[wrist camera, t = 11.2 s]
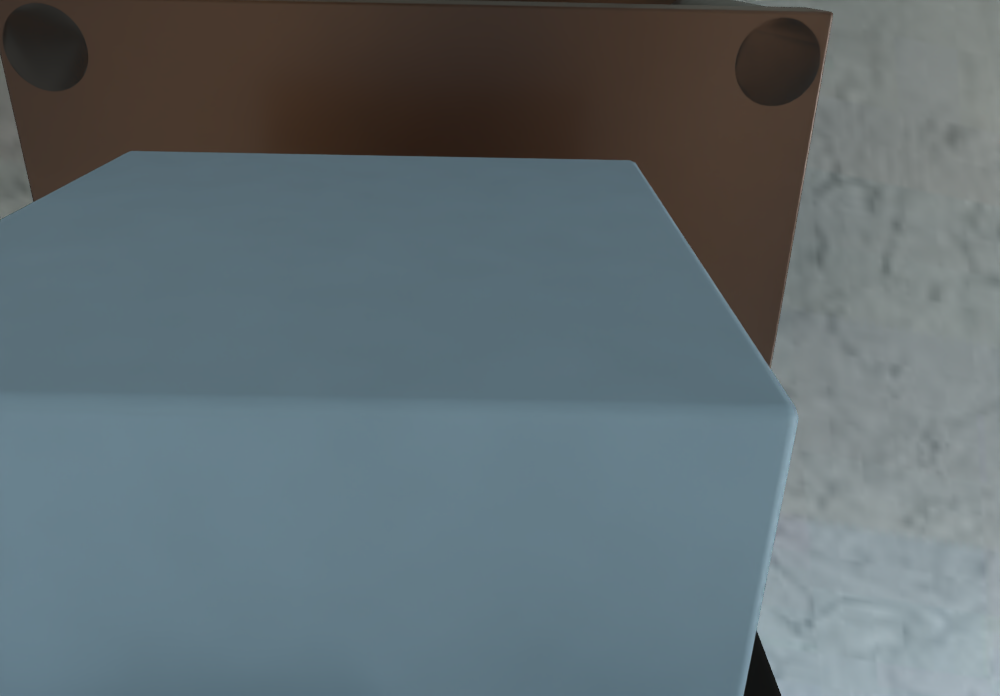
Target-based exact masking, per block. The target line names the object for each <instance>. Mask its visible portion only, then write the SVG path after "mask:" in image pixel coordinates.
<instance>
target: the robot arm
mask: <svg viewBox="0 0 1000 696" xmlns="http://www.w3.org/2000/svg"><path fill="white" fill-rule="evenodd" d="M743 696H781V694H780V691H779V688H778V686H777V683H776V680H775V678H774V675H773V673H772V670H771V667H770V665H769V662H768V659H767V657H766V654H765V651H764V649H763V646H762V644H761V641H760V638H759V636H758V633H757V630H756V635H755V640H754V645H753V650H752V655H751V660H750V665H749V670H748V675H747V680H746V685H745V690H744V695H743Z"/></svg>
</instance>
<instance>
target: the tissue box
mask: <svg viewBox="0 0 1000 696" xmlns="http://www.w3.org/2000/svg"><path fill="white" fill-rule="evenodd" d="M798 419H799V418H798V414H797V411H796V407H795V405H794V404H793V402H792V401H791V399H790V398H789V396H788V395H787V393H786V392H785V390H784V389H783V387H782V386H781V384H780V383H779V381H778V380H777V378H776V376H775V375H774V373H773V372H772V370H771V369H770V367H769V366H768V364H767V363H766V361H765V360H764V358H763V357H762V355H761V354H760V352H759V351H758V349H757V348H756V346H755V344H754V343H753V341H752V340H751V338H750V337H749V335H748V334H747V332H746V331H745V329H744V328H743V326H742V325H741V323H740V322H739V320H738V319H737V317H736V315H735V314H734V312H733V311H732V309H731V308H730V306H729V305H728V303H727V302H726V300H725V299H724V297H723V296H722V294H721V293H720V291H719V290H718V288H717V287H716V285H715V283H714V282H713V280H712V279H711V277H710V276H709V274H708V273H707V271H706V270H705V268H704V267H703V265H702V264H701V262H700V261H699V259H698V258H697V256H696V254H695V253H694V251H693V250H692V248H691V247H690V245H689V244H688V242H687V241H686V239H685V238H684V236H683V235H682V233H681V232H680V230H679V229H678V227H677V226H676V224H675V222H674V221H673V219H672V218H671V216H670V215H669V213H668V212H667V210H666V209H665V207H664V206H663V204H662V203H661V201H660V200H659V198H658V197H657V195H656V193H655V192H654V190H653V189H652V187H651V186H650V184H649V183H648V181H647V180H646V178H645V177H644V175H643V174H642V172H641V171H640V169H639V168H638V166H637V165H636V163H635V162H632V161H630V160H588V159H535V158H481V157H427V156H374V155H320V154H266V153H213V152H159V151H130V152H127V153H125V154H123V155H121V156H120V157H118V158H116V159H114V160H112V161H110V162H108V163H106V164H104V165H103V166H101V167H99V168H97V169H95V170H93V171H91V172H89V173H87V174H86V175H84V176H82V177H80V178H78V179H76V180H74V181H72V182H70V183H69V184H67V185H65V186H63V187H61V188H59V189H57V190H55V191H53V192H52V193H50V194H48V195H46V196H44V197H42V198H40V199H38V200H36V201H35V202H33V203H31V204H29V205H27V206H25V207H23V208H21V209H19V210H18V211H16V212H14V213H12V214H10V215H8V216H6V217H4V218H2V219H1V220H0V696H743V695H744V690H745V685H746V680H747V675H748V670H749V665H750V660H751V655H752V650H753V645H754V640H755V635H756V630H757V625H758V620H759V615H760V610H761V605H762V600H763V595H764V590H765V585H766V580H767V575H768V570H769V565H770V560H771V555H772V550H773V545H774V540H775V535H776V530H777V525H778V520H779V515H780V510H781V505H782V500H783V495H784V490H785V485H786V480H787V475H788V470H789V465H790V459H791V454H792V449H793V444H794V439H795V434H796V429H797V424H798Z"/></svg>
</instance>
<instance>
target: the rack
mask: <svg viewBox="0 0 1000 696" xmlns="http://www.w3.org/2000/svg"><path fill="white" fill-rule="evenodd" d="M832 18H833V13H832V12H829V11H823V10H817V9H812V8H806V7H766V6H761V5H755V4H750V3H745V2H740V1H734V0H0V55H1V59H2V64H3V68H4V73H5V77H6V81H7V86H8V90H9V95H10V99H11V104H12V108H13V112H14V117H15V121H16V126H17V130H18V135H19V139H20V143H21V148H22V152H23V157H24V161H25V166H26V170H27V174H28V179H29V183H30V188H31V192H32V197H33V201H34V202H35V201H36V200H38V199H40V198H42V197H44V196H46V195H48V194H50V193H52V192H53V191H55V190H57V189H59V188H61V187H63V186H65V185H67V184H69V183H70V182H72V181H74V180H76V179H78V178H80V177H82V176H84V175H86V174H87V173H89V172H91V171H93V170H95V169H97V168H99V167H101V166H103V165H104V164H106V163H108V162H110V161H112V160H114V159H116V158H118V157H120V156H121V155H123V154H125V153H127V152H130V151H159V152H213V153H266V154H320V155H374V156H427V157H481V158H535V159H588V160H630V161H632V162H635V163H636V165H637V166H638V168H639V169H640V171H641V172H642V174H643V175H644V177H645V178H646V180H647V181H648V183H649V184H650V186H651V187H652V189H653V190H654V192H655V193H656V195H657V197H658V198H659V200H660V201H661V203H662V204H663V206H664V207H665V209H666V210H667V212H668V213H669V215H670V216H671V218H672V219H673V221H674V222H675V224H676V226H677V227H678V229H679V230H680V232H681V233H682V235H683V236H684V238H685V239H686V241H687V242H688V244H689V245H690V247H691V248H692V250H693V251H694V253H695V254H696V256H697V258H698V259H699V261H700V262H701V264H702V265H703V267H704V268H705V270H706V271H707V273H708V274H709V276H710V277H711V279H712V280H713V282H714V283H715V285H716V287H717V288H718V290H719V291H720V293H721V294H722V296H723V297H724V299H725V300H726V302H727V303H728V305H729V306H730V308H731V309H732V311H733V312H734V314H735V315H736V317H737V319H738V320H739V322H740V323H741V325H742V326H743V328H744V329H745V331H746V332H747V334H748V335H749V337H750V338H751V340H752V341H753V343H754V344H755V346H756V348H757V349H758V351H759V352H760V354H761V355H762V357H763V358H764V360H765V361H766V363H767V364H768V366H769V367H770V369H771V363H772V358H773V352H774V346H775V341H776V335H777V329H778V324H779V318H780V312H781V307H782V301H783V295H784V290H785V284H786V278H787V273H788V267H789V261H790V256H791V250H792V244H793V239H794V233H795V228H796V222H797V216H798V211H799V205H800V199H801V194H802V188H803V182H804V177H805V171H806V165H807V160H808V154H809V148H810V143H811V137H812V131H813V126H814V120H815V114H816V109H817V103H818V97H819V92H820V86H821V80H822V75H823V69H824V64H825V58H826V52H827V47H828V41H829V35H830V30H831V24H832Z"/></svg>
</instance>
